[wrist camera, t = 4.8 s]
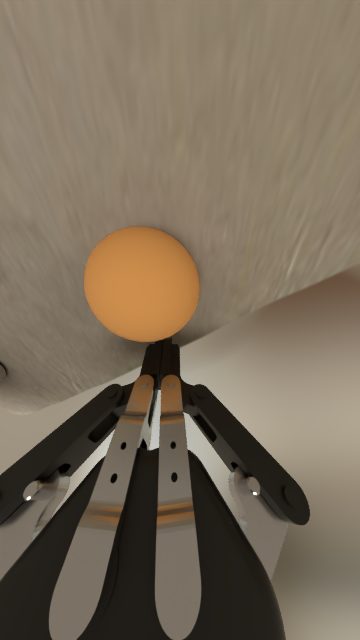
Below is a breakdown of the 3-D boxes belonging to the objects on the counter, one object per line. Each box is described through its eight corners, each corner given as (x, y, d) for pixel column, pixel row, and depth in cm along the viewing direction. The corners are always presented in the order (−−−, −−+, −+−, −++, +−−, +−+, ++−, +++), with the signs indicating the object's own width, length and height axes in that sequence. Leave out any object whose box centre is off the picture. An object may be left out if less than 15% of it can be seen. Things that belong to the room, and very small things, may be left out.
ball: (171, 316, 13) (168, 376, 8) (105, 287, 11) (48, 342, 6) (210, 256, 9) (244, 293, 5) (126, 201, 8) (40, 170, 3)
